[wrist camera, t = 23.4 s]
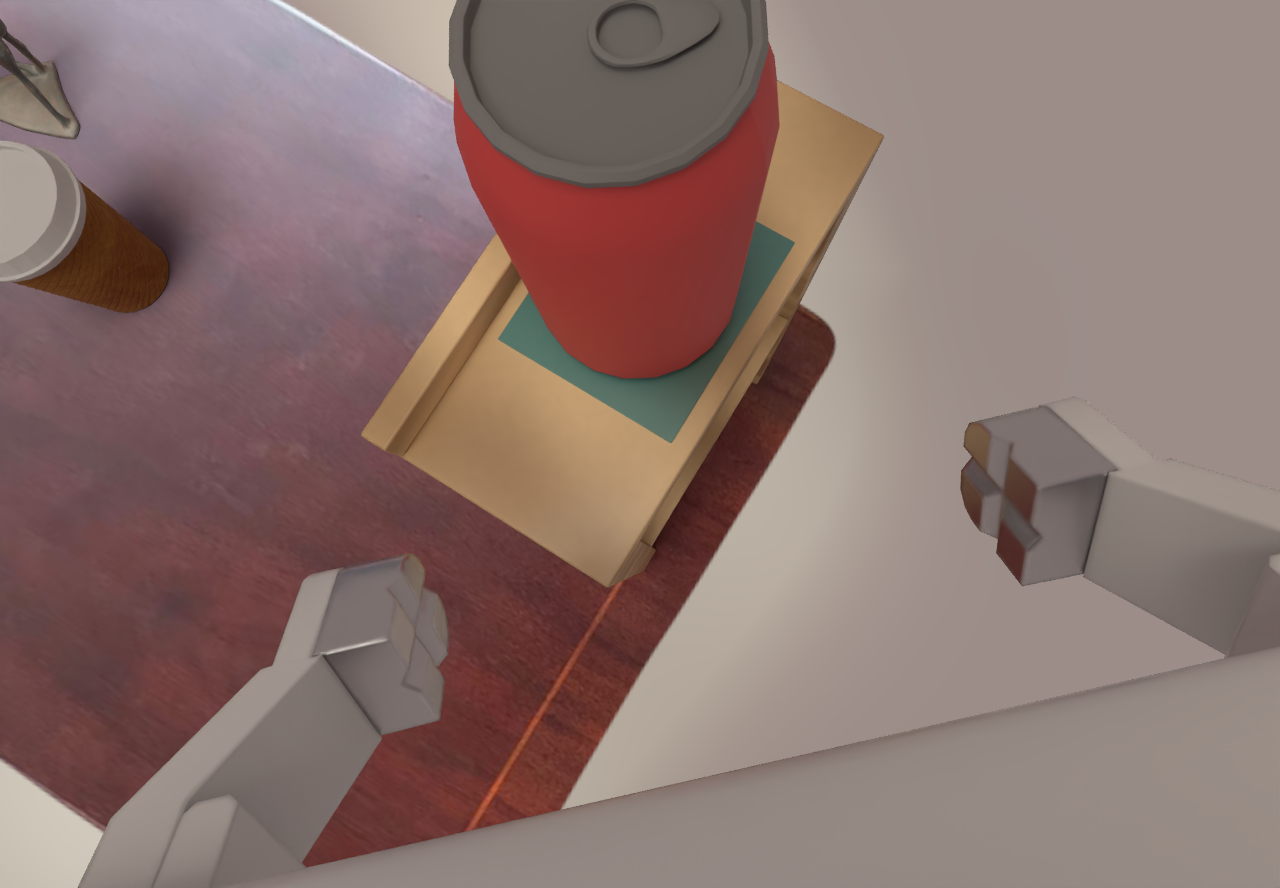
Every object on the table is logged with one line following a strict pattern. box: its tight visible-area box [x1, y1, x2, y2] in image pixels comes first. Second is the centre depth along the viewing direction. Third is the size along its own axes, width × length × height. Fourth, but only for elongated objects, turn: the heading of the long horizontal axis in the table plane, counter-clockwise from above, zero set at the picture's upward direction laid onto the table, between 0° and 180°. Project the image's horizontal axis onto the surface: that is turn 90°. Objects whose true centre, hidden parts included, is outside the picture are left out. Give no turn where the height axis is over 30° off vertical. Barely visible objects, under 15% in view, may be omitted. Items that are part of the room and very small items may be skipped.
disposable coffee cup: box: [0, 141, 169, 313], centre depth 52 cm, size 10×10×12 cm
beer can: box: [449, 0, 780, 379], centre depth 18 cm, size 7×7×12 cm
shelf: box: [361, 80, 884, 587], centre depth 38 cm, size 18×9×32 cm, turn 148°
